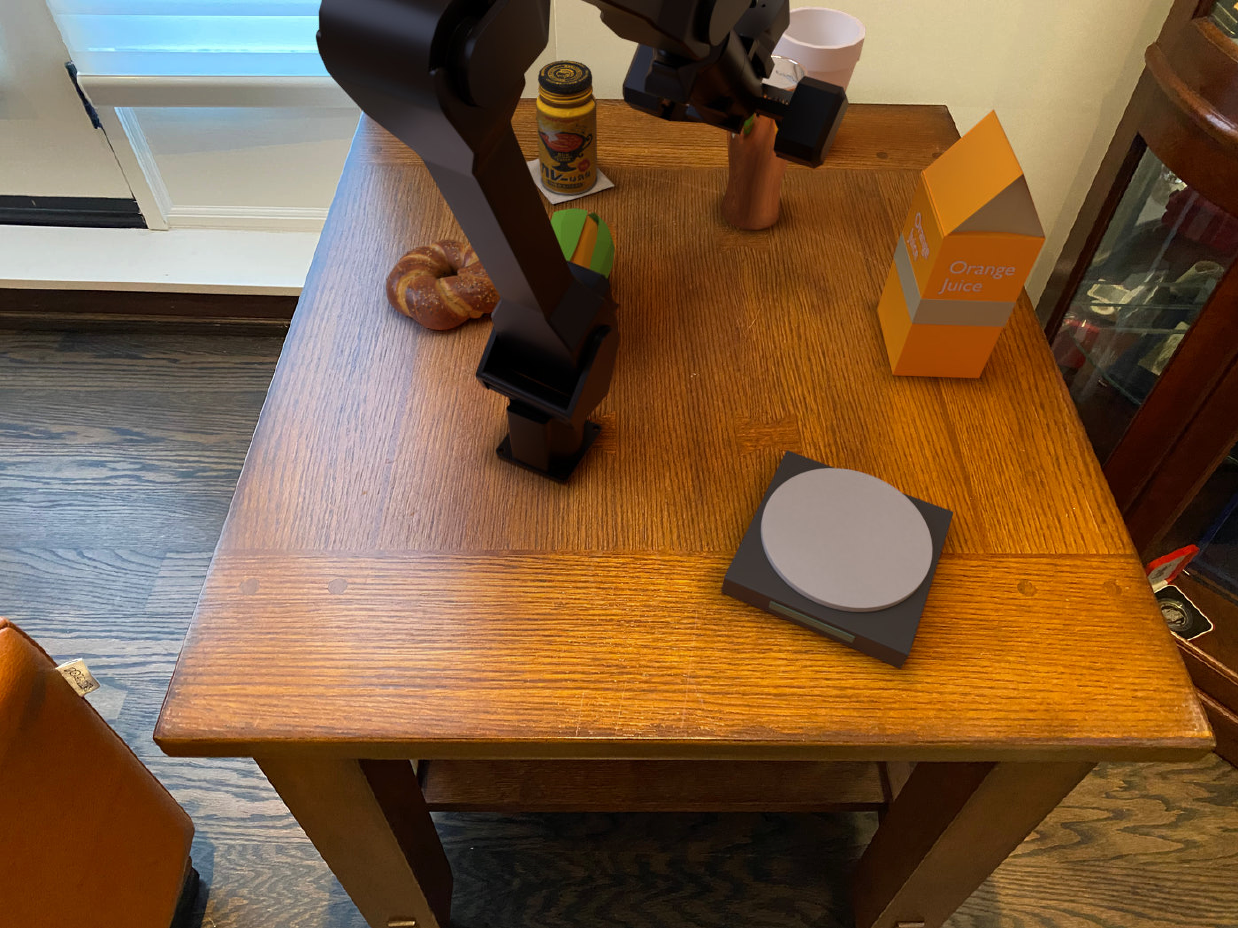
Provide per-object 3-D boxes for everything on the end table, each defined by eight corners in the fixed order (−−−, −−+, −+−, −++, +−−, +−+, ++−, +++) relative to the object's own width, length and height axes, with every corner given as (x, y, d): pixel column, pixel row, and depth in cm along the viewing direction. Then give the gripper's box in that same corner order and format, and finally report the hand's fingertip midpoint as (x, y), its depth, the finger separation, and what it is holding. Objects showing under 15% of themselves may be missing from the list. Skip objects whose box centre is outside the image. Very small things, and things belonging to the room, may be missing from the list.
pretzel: (507, 250, 86) (504, 218, 83) (527, 322, 79) (524, 290, 76) (384, 267, 84) (376, 234, 81) (393, 342, 77) (385, 310, 74)
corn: (620, 185, 79) (584, 331, 67) (624, 253, 85) (592, 399, 73) (541, 182, 80) (491, 325, 68) (550, 250, 86) (506, 394, 74)
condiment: (552, 206, 90) (547, 95, 81) (519, 165, 95) (511, 56, 86) (614, 188, 93) (616, 78, 83) (579, 149, 97) (577, 41, 88)
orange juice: (891, 375, 75) (967, 170, 60) (875, 308, 81) (941, 104, 65) (981, 379, 75) (1080, 174, 60) (959, 311, 81) (1045, 108, 65)
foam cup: (834, 172, 95) (862, 54, 85) (750, 160, 96) (768, 42, 86) (841, 128, 101) (867, 12, 91) (762, 117, 102) (779, 2, 92)
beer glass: (782, 196, 92) (809, 55, 80) (784, 235, 88) (812, 93, 76) (717, 191, 92) (734, 50, 81) (715, 230, 88) (732, 88, 76)
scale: (900, 670, 58) (911, 652, 56) (720, 593, 61) (724, 574, 59) (945, 527, 65) (956, 506, 63) (782, 465, 69) (788, 444, 67)
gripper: (869, -14, 62) (885, 73, 76) (643, -71, 68) (698, 19, 82) (804, 138, 64) (832, 195, 78) (590, 69, 70) (652, 134, 84)
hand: (752, 131), depth 81 cm, fingers open, 9 cm apart
